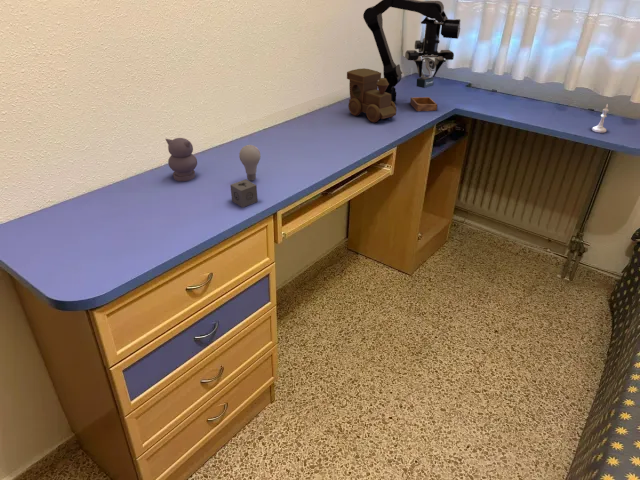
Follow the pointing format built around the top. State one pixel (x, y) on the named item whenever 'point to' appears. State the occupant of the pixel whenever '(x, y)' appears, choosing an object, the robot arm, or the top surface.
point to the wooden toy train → (369, 95)
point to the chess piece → (601, 122)
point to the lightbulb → (250, 160)
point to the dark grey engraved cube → (244, 193)
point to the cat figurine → (181, 159)
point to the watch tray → (423, 104)
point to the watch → (426, 76)
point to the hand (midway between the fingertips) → (426, 76)
